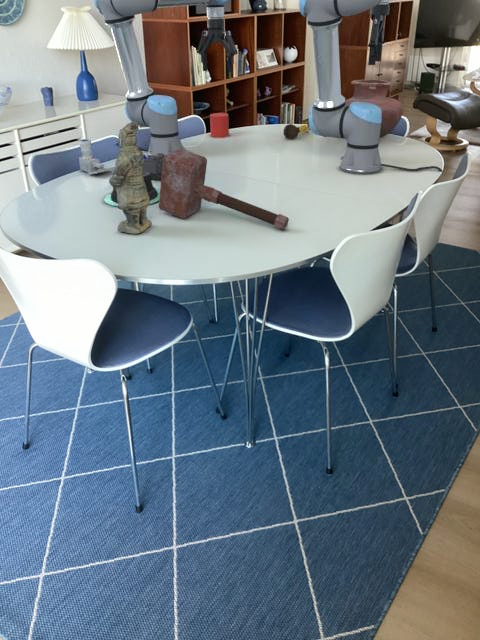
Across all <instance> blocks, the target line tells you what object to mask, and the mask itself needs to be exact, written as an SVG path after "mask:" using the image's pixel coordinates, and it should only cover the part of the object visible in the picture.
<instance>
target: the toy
mask: <svg viewBox="0 0 480 640" xmlns="http://www.w3.org/2000/svg"><path fill="white" fill-rule="evenodd" d="M142 153H143V156H144V166H143V169H144V170H146V171H147V172H149V173H150V175H151V180H157V181H161V175H162V166H163V158H164V156H165V155H164V154H163V153H158V154H157V155H156V156H155V155H148V154H147V156H146V154H145V153H144V152H143V151H142Z"/></svg>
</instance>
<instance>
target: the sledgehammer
mask: <svg viewBox="0 0 480 640" xmlns="http://www.w3.org/2000/svg"><path fill="white" fill-rule="evenodd" d="M207 164H208V159H207V158H206V157H205V156H203V155H200V154H197V153H195V152H193V151H189V150H186V149H185V150H184V149H179V150H177V151H174V152H172V153H170V154H167V155H165V156H164V158H163V166H162V175H161V179H160V187H159V190H160V198H159V200H158V208H159V210H160V211H162V212H165V213H168V214H170V215H173V216H174V217H177V218H180V219H182V220H185V219H187V218H188V217H190V216H192V215H193V214H195V213H197V212H198V211H199V210H200V209H201V207H202V201H203V200H204V201H207V202H209V203H213V204H215V205H220V206H223V207H225V208H228V209H231V210H233V211H236V212H239V213H241V214H243V215H245V216H248V217H252V218H255V219H257V220H260V221H262V222H264V223H267V224H270V225H273V226H274V228H276V229H280V230H282V231H285V230H286V228H287V227H288V224H289V221H290V218H289V217H288V216H286V215H283V214H281V213H279V214H277V213H275V212H273V211H269V210H267V209H265V208H262V207H259V206H256V205H254V204H251V203H248V202H246V201H244V200H242V199H238V198H236V197H233V196H231V195H228V194H225V193H223V192H222V191H220V190H218V189H215V188H214V187H211V186H208V185H205V181H206V175H207Z"/></svg>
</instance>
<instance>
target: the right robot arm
mask: <svg viewBox="0 0 480 640" xmlns="http://www.w3.org/2000/svg"><path fill="white" fill-rule="evenodd" d="M391 2H392V1H391V0H298V10H299V13H300V14H301V16H303V17H304V18H306V20H307V26H308V27H309V28H311V30H312V41H313V55H314V69H315V83H316V94H317V95H316V99H314V101H313V104H312V105H311V106H310V108H309V112H308V113H309V115H308V123H309V125H310V128H311V130H310V131H311V132H312V133H313V134H314V135H316V136H320V137H322V138H334V139H342V140H343V139H345V140H346V149H345V151H344V154H343V156H341V157H340V161H341V162H340V170H341V171H343V172H345V173H349V174H355V175H356V174H357V175H369V174H370V175H371V174H376V173H378V172H380V171H382V167H385V168H391V169H396V170H402V171H408V172H416V171H420V170H421V171H422V170H429V169H436V170H437V171H439V172H443V170H442V168H441V167H439V166H435V165H430V166H420V167H417V168H409V167H408V168H407V167H402V166H397V165H391V164H386V163H382V161H381V155H380V150H379V147H380V145H379V144H380V138H379V137H380V128H381V122H382V119H381V116H382V111H381V109H380V107H378V106H377V105H374V104H370V103H365V102H353V103H351V104H350V106H346V104H345V100H346V97H345V96H344V95H342V88H341V85H342V84H341V66H340V42H339V41H340V39H339V25H340V23H341V22H342V21H343V17H349V16H351V17H352V16H355V15H358V14H361V13H363V12H366V11H368V10H369V15H370V16H371V17H372V16H374V18H372V24H371V30H370V37H369V41H368V44H367V48H369V51H368V52H369V53H368V66H376V62H378V63H379V62H382V54H383V45H385V39H384V38H385V19H386V18H385V16H388V15H390V7H391V5H390V3H391Z"/></svg>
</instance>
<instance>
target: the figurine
mask: <svg viewBox="0 0 480 640" xmlns="http://www.w3.org/2000/svg"><path fill="white" fill-rule="evenodd" d="M292 123H293V121H292V120H290V121H289V124H286V125H285V126H284V128H283V131H282V132H283V136H284V138H286V139H288V140H292V139H295V138H297V137H298V136H299V134H300V133H309V131H312V130H311V128H310V125H309V122H307V124H301V125H300V126H297V125H295V124H292Z"/></svg>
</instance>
